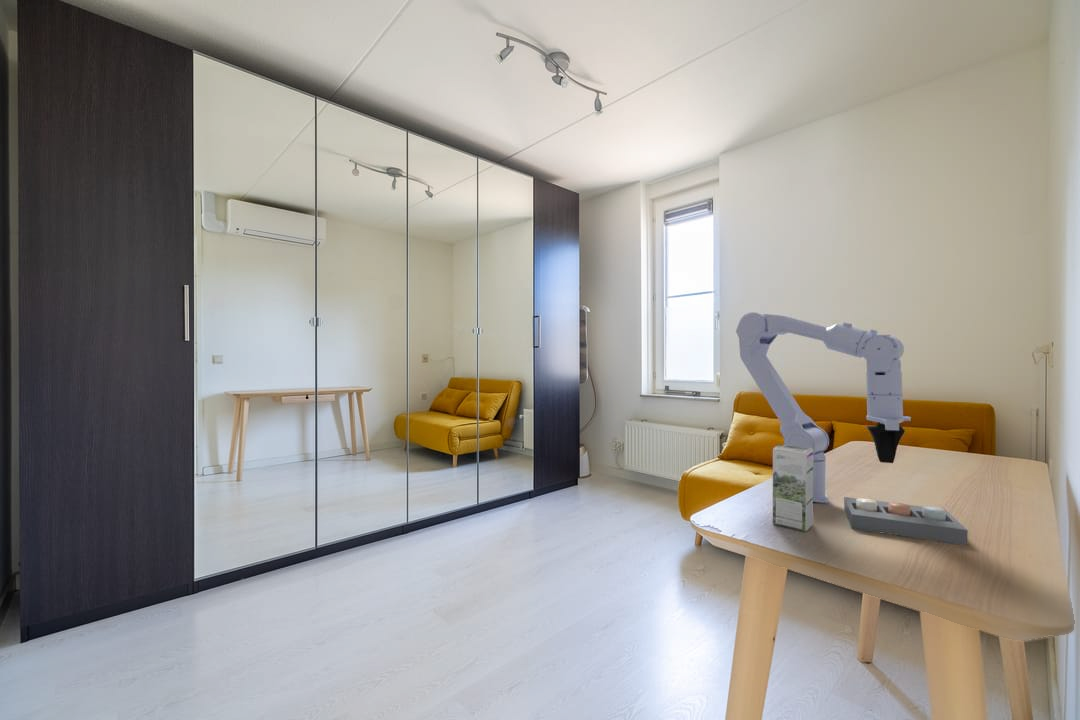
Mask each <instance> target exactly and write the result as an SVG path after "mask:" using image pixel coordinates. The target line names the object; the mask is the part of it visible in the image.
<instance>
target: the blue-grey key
mask: <svg viewBox="0 0 1080 720" xmlns="http://www.w3.org/2000/svg"><path fill="white" fill-rule="evenodd" d="M943 509H944V508H939V507H937V506H930V505H929V506H926V505H925V506H922V518H926V519H934V520H941V521H946V511H947V510H946V509H945V510H946V511H945V510H943Z"/></svg>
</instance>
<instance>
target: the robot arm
mask: <svg viewBox="0 0 1080 720" xmlns="http://www.w3.org/2000/svg"><path fill="white" fill-rule="evenodd" d="M735 333H736V335H737V337H738V343H739V357H740V359H741V362H743V364H744V367H745V368H746V369H747V371H748V373H749V374H750V376H751V377H752V379H753V381H754V382H755V384H756V385H757V387H758V388H759V390H760V392H761V393H762V395H763V397H764V398H765V399H766V401H767V403H768V405H769V406H770V408H771V409H772V411H773V413H774V414H775V416H776V417H777V419H778V421H779V422H780V424H779V433H781V435H782V438H783V442H784V444H783V445H788V446H797V447H805V448H813V503H820V504H830V501H829V498H828V495H827V492H826V472H827V471H826V469H827V468H826V466H827V465H826V459H827V457H826V455H825V454H824V453H825V451H826V450H827V449H828V447H829V445H830V437H829V435H828V433H827V432H826V431H825V430H824V429H823V428H822V427H820V426H818V425H817V424H816V423H815V422H814V420H813V418H811V417H810V416H808V415H807V414H806V413H805V412H804V411H803V410H802V408H801V407H800V405H799V404H798V402H797V401H796V398H795V397H794V396H793V395H792V393H791V391H790V389H789V388H788V387H787V385H786V384H785V382H784V381H783V379H782V378H781V376H780V374H779V373H778V372H777V370H776V369H775V367H774V365H773V363H771V360H770V359H769V358H768V356H767V353H768V351H769V348H770V346H771V344H772V343H773V342H774V341H775V339H776V338H777V337H778V335H781V336H783V335H786V334H792V335H798V336H800V337H801V336H802V337H805V338H810V339H813V340H818V341H822V342H823V343H824V345H825V348H827V349H828V350H832V351H834V352H835V351H836V352H839V353H841V354H846V355H849V356H852V357H855V358H856V357H857V358H860V359H862V358H864V359H865V360H866V372H865V375H866V378H865V379H866V408H867V409H866V411H867V412H866V413H867V415H866V416H865V417H866V419H865V420H867V421H872V422H873V423H877V424H876V425H866V429H868V431H869V433H870V435H871V438H872V440H873V442H874V443H873V444H874V446H875V447H874V448H875V451H876V455H877V458H878V461H879V462H880V463H883V464H893V463H894V462H895V458H896V454H897V449H898V445H899V443H900V441H901V439H902V437H903V435H904V434H905V430H906V429H904V428H903V427H902V426H900V423H903V422H911V419H912V417H911V416H906V415H905V416H904V409H903V408H904V406H903V405H904V403H903V401H904V400H903V374H902V373H903V372H902V363H901V361H902V360H901V357H902V356H903V355H904V351H905V348H904V344H903V343H902V341H900V339H898V338H897V337H895V336H892V335H891V334H878V330H875V329H870V330H866V329H862V328H857V327H855V326H854V327H853V324H852V323H849V322H843V323H842V324H841V323H835V324H832V325H831V326H829V327H827V326H824V325H820V324H817V323H814V322H809V321H806V320H802V319H798V318H795V317H792V316H787V315H779V314H769V313H760V312H759V313H758V312H753V311H752V312H751V311H750V312H748V313H745V314H744V315H743V316H742V317H741V318H740V319H739V322H738V324H737V328H736V331H735Z"/></svg>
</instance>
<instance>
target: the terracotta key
mask: <svg viewBox="0 0 1080 720" xmlns="http://www.w3.org/2000/svg"><path fill="white" fill-rule="evenodd" d="M888 502H889V501H888ZM909 505H910V504H906V503H904V502H903V503H902V502H897V501H896V502H895V501H890V502H889V503H888V513H889V514H896V515H904V516H910V506H909Z"/></svg>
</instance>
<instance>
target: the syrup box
mask: <svg viewBox="0 0 1080 720" xmlns="http://www.w3.org/2000/svg"><path fill="white" fill-rule="evenodd" d="M813 503H814V502H813V448H805V447H797V446H788V445H785V444H778V445H775V447H773V448H772V524H773V525H775V526H779V527H785V528H788V529H792V530H797V531H801V532H807V531H808V530H809V529H810V528H811V526H812V525H813V523H814V509H813V507H814V506H813V505H814V504H813Z"/></svg>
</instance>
